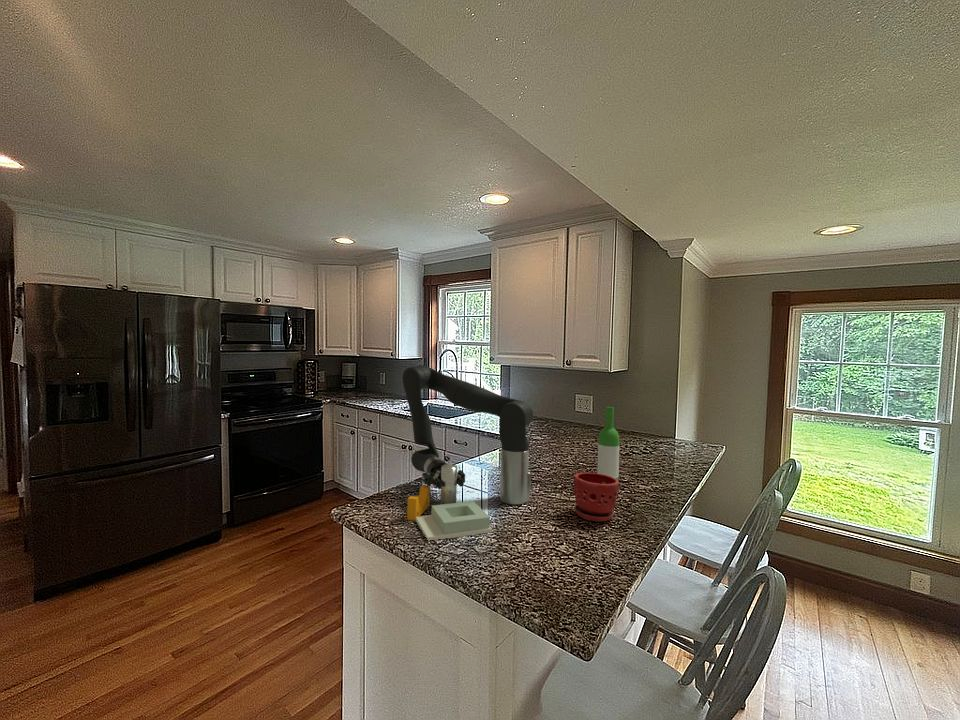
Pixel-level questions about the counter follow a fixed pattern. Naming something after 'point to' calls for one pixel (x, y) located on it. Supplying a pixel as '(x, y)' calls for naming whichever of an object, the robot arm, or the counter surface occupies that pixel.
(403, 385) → the robot arm
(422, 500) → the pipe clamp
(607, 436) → the wine bottle
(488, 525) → the pale green square frame
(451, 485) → the steel shaft
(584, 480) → the plant pot
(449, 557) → the counter surface
